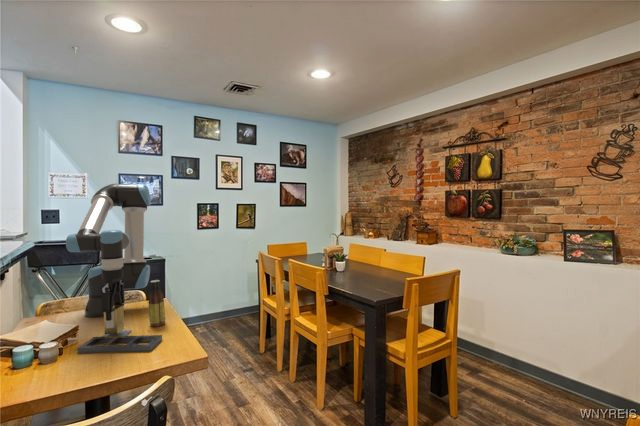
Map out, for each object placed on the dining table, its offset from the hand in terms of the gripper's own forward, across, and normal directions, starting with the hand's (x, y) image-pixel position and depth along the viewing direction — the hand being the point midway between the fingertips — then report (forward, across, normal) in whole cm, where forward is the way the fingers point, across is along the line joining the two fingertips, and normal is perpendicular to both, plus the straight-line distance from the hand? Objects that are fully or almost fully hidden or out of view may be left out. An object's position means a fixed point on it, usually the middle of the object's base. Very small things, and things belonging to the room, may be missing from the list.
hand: (114, 324), depth 137 cm
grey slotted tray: (+5, +10, +8) cm, 14 cm away
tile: (+5, 0, 0) cm, 5 cm away
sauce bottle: (+5, -12, +12) cm, 18 cm away
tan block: (+3, 0, 0) cm, 3 cm away
